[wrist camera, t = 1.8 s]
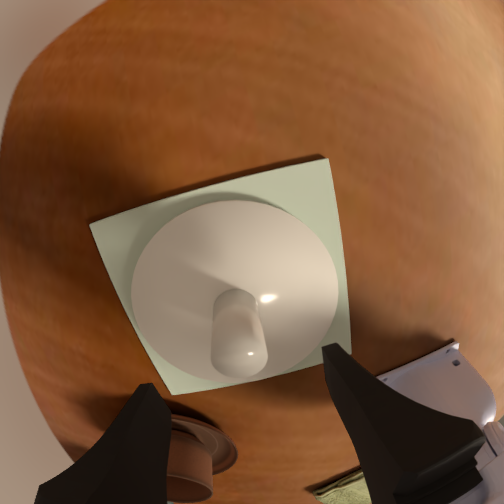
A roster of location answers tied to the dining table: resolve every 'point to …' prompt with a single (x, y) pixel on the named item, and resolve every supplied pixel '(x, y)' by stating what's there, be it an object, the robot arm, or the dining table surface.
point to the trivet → (247, 187)
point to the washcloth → (345, 491)
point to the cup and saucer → (196, 459)
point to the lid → (234, 291)
